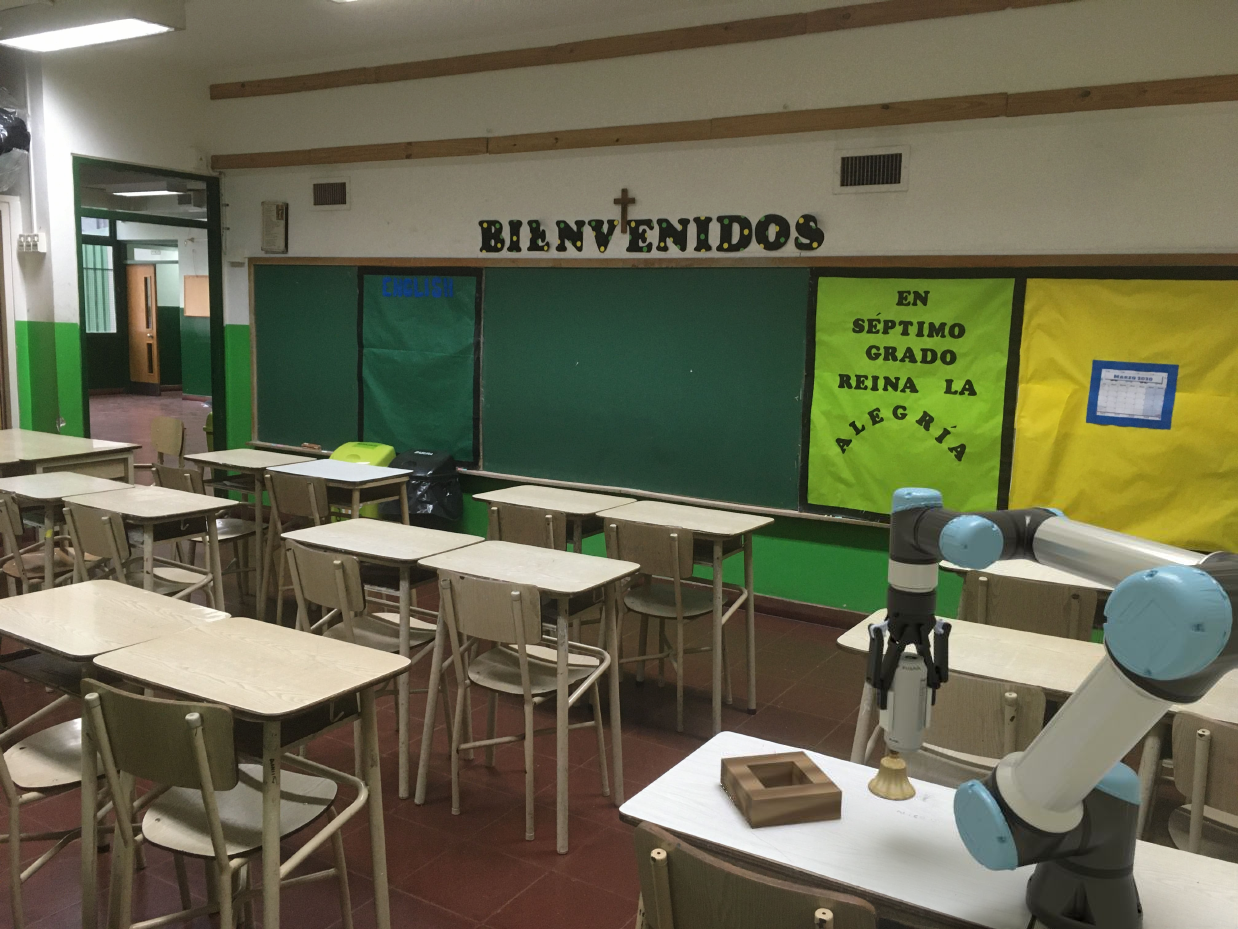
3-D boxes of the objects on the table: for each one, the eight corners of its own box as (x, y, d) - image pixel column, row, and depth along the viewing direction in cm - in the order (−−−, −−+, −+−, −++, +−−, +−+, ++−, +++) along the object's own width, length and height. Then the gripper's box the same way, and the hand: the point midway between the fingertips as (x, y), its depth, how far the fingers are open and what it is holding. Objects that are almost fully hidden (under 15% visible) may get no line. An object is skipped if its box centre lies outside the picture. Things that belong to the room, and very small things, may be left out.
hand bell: (921, 801, 172) (926, 715, 169) (874, 800, 172) (879, 714, 170) (908, 779, 180) (913, 697, 178) (863, 778, 180) (868, 696, 178)
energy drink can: (885, 736, 160) (889, 648, 158) (923, 742, 158) (928, 653, 156) (882, 751, 154) (887, 660, 152) (922, 757, 152) (927, 664, 150)
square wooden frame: (840, 818, 165) (842, 791, 164) (752, 828, 161) (753, 800, 160) (801, 776, 180) (802, 751, 180) (720, 784, 176) (721, 758, 176)
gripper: (952, 577, 158) (944, 713, 161) (845, 582, 154) (839, 722, 157) (979, 589, 151) (970, 731, 154) (868, 595, 147) (861, 740, 150)
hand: (904, 726), depth 156 cm, fingers closed on energy drink can, 6 cm apart
